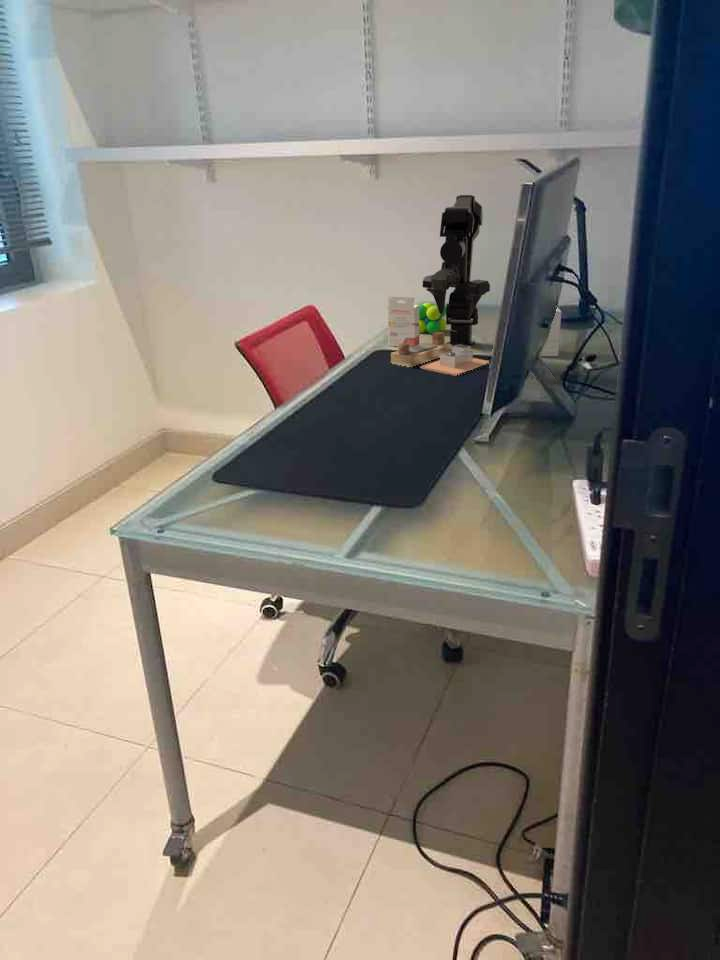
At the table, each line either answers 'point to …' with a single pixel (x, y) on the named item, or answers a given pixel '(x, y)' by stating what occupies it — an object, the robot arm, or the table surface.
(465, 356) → the lever cap
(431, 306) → the molecule model
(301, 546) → the table surface
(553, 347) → the supplement box
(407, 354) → the hand plane
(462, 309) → the robot arm
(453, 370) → the rubber mat
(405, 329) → the ink cartridge box
